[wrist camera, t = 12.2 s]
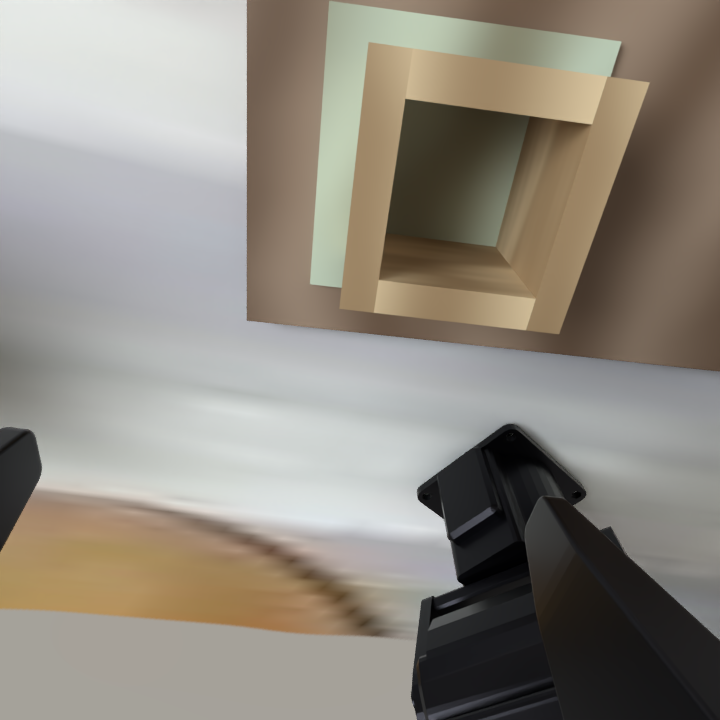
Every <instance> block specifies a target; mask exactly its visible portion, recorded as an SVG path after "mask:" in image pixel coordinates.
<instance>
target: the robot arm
mask: <svg viewBox="0 0 720 720" xmlns="http://www.w3.org/2000/svg"><path fill="white" fill-rule="evenodd" d="M509 433H513V435H511V436H507V434H509ZM41 471H42V464H41V459H40V455H39V450H38V446H37V441H36V437H35V434H34V433H33V432H32V431H30V430H28V429H20V428H12V427H6V428H2V429H0V552H1V550H2V548H3V546H4V544H5V543H6V541H7V539H8V537H9V535H10V533H11V531H12V529H13V528H14V526H15V524H16V522H17V520H18V518H19V516H20V515H21V513H22V511H23V509H24V507H25V505H26V503H27V501H28V500H29V498H30V496H31V494H32V492H33V490H34V488H35V486H36V485H37V483H38V481H39V479H40V476H41ZM574 492H575V493H574ZM425 493H429V494H428V495H425ZM417 496H418V500H419V501H420V502H421V503H423V504H424V505H425V506H427V507H428V508H429V509H431V510H432V511H434V512H435V513H436V514H438V515H439V516H440V517H442V518H443V519H444V521H445V526H446V532H447V537H448V539H449V540H450V542H451V548H452V553H453V558H454V564H455V569H456V575H457V580H458V581H459V582H460V583H461V584H463V587H461V588H458V589H455V590H453V591H450V592H448V593H445V594H443V595H440V596H437V597H434V596H431V597H429V598H426V599H424V600H422V602H421V610H420V618H419V627H418V635H417V643H416V651H415V660H414V668H413V680H412V692H411V699H412V703H413V706H414V708H415V711H416V716H417V720H720V640H719V639H718V638H717V637H715V636H714V635H713V634H712V633H711V632H710V631H709V630H708V629H707V628H706V627H705V626H703V625H702V624H701V623H700V622H699V621H698V620H697V619H696V618H695V617H694V616H693V615H691V614H690V613H689V612H688V611H687V610H686V609H685V608H684V607H683V606H682V605H680V604H679V603H678V602H677V601H676V600H675V599H674V598H673V597H672V596H671V595H670V594H668V593H667V592H666V591H665V590H664V589H663V588H662V587H661V586H660V585H659V584H658V583H656V582H655V581H654V580H653V579H652V578H651V577H650V576H649V575H648V574H647V573H646V572H644V571H643V570H642V569H641V568H640V567H639V566H638V565H637V564H636V563H635V562H634V561H632V560H631V559H630V558H629V557H628V555H627V553H626V552H625V550H624V548H623V547H622V545H621V543H620V541H619V540H618V538H617V536H616V535H615V533H614V531H613V530H612V528H611V526H610V527H607V528H605V529H602V530H599V529H598V528H596V527H595V526H594V525H593V524H592V523H591V522H590V521H589V520H588V519H587V518H586V517H584V516H583V515H582V514H581V513H580V512H579V511H578V510H577V509H576V508H575V507H574V506H573V505H574V504H576V503H578V502H579V501H581V500H582V499H584V498H585V496H586V491H585V489H584V488H583V486H582V484H581V483H579V482H578V481H577V480H576V479H575V478H574V477H573V476H572V475H571V474H569V473H568V472H567V471H566V470H565V469H564V468H563V467H562V466H561V465H559V464H558V463H557V462H556V461H555V460H554V459H553V458H552V457H551V456H549V455H548V454H547V453H546V452H545V451H544V450H543V449H542V448H541V447H539V446H538V445H537V444H536V443H535V442H534V441H533V440H532V439H531V438H530V437H528V436H527V435H526V434H525V433H524V432H523V431H522V430H521V429H520V428H518V427H517V426H516V425H514V424H507V425H504V426H502V427H501V428H500V429H498V430H497V431H495V432H494V433H493V434H491V435H490V436H489V437H487V438H486V439H484V440H483V441H482V442H480V443H479V444H478V445H476V446H475V447H473V448H472V449H471V450H469V451H468V452H466V453H465V454H464V455H462V456H461V457H459V458H458V459H457V460H455V461H454V462H453V463H451V464H450V465H448V466H447V467H446V468H444V469H443V470H442V471H440V472H439V473H438V474H436V475H435V476H433V477H432V478H431V479H429V480H428V481H426V482H425V483H424V484H422V485H421V486H420V487H419V488H418V489H417Z"/></svg>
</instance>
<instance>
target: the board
mask: <svg viewBox="0 0 720 720" xmlns="http://www.w3.org/2000/svg"><path fill="white" fill-rule="evenodd" d="M369 42H372V43H379V44H386V45H393V46H400V47H406V48H413V49H420V50H427V51H434V52H441V53H448V54H455V55H462V56H469V57H476V58H483V59H490V60H497V61H504V62H511V63H518V64H525V65H531V66H538V67H545V68H552V69H559V70H566V71H573V72H580V73H587V74H594V75H601V76H608V77H615V78H622V79H629V80H636V81H643V82H650V83H649V86H648V89H647V92H646V94H645V97H644V100H643V103H642V106H641V108H640V111H639V114H638V117H637V119H636V122H635V125H634V128H633V130H632V133H631V136H630V139H629V142H628V144H627V147H626V150H625V153H624V155H623V158H622V161H621V164H620V166H619V169H618V172H617V175H616V178H615V180H614V183H613V186H612V189H611V191H610V194H609V197H608V200H607V202H606V205H605V208H604V211H603V214H602V216H601V219H600V222H599V225H598V227H597V230H596V233H595V236H594V238H593V241H592V244H591V247H590V250H589V252H588V255H587V258H586V261H585V263H584V266H583V269H582V272H581V274H580V277H579V280H578V283H577V286H576V288H575V291H574V294H573V297H572V299H571V302H570V305H569V308H568V310H567V313H566V316H565V319H564V322H563V324H562V327H561V330H560V333H559V334H553V333H544V332H535V331H527V330H518V329H510V328H501V327H492V326H484V325H475V324H467V323H458V322H449V321H441V320H432V319H423V318H415V317H406V316H398V315H389V314H380V313H372V312H363V311H354V310H346V309H339V308H340V298H341V289H342V280H343V271H344V262H345V253H346V244H347V234H348V225H349V216H350V207H351V198H352V189H353V180H354V171H355V161H356V152H357V143H358V134H359V125H360V116H361V107H362V97H363V88H364V79H365V70H366V61H367V52H368V43H369ZM529 118H530V116H527V115H519V114H512V113H505V112H498V111H490V110H483V109H476V108H469V107H462V106H454V105H447V104H440V103H433V102H426V101H418V100H411V99H405V105H404V112H403V119H402V126H401V132H400V139H399V146H398V153H397V159H396V166H395V173H394V180H393V186H392V193H391V200H390V207H389V213H388V220H387V227H386V233H388V234H396V235H404V236H413V237H421V238H429V239H437V240H445V241H453V242H461V243H469V244H477V245H485V246H493V247H496V243H497V239H498V236H499V232H500V228H501V224H502V220H503V217H504V213H505V209H506V205H507V201H508V198H509V194H510V190H511V186H512V182H513V179H514V175H515V171H516V167H517V163H518V160H519V156H520V152H521V148H522V144H523V141H524V137H525V133H526V129H527V125H528V122H529ZM247 321H257V322H266V323H275V324H284V325H294V326H303V327H312V328H322V329H331V330H340V331H349V332H359V333H368V334H377V335H386V336H396V337H405V338H414V339H424V340H433V341H442V342H451V343H461V344H470V345H479V346H489V347H498V348H507V349H516V350H526V351H535V352H544V353H554V354H563V355H572V356H581V357H591V358H600V359H609V360H619V361H628V362H637V363H646V364H656V365H665V366H674V367H684V368H693V369H702V370H711V371H720V0H247Z"/></svg>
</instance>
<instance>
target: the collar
mask: <svg viewBox="0 0 720 720" xmlns="http://www.w3.org/2000/svg"><path fill="white" fill-rule="evenodd" d="M649 83H650V82H643V81H636V80H629V79H622V78H615V77H608V76H601V75H594V74H587V73H580V72H573V71H566V70H559V69H552V68H545V67H538V66H531V65H525V64H518V63H511V62H504V61H497V60H490V59H483V58H476V57H469V56H462V55H455V54H448V53H441V52H434V51H427V50H420V49H413V48H406V47H400V46H393V45H386V44H379V43H372V42H369V43H368V52H367V61H366V70H365V79H364V88H363V97H362V107H361V116H360V125H359V134H358V143H357V152H356V161H355V171H354V180H353V189H352V198H351V207H350V216H349V225H348V234H347V244H346V253H345V262H344V271H343V280H342V289H341V298H340V308H339V309H346V310H354V311H363V312H372V313H380V314H389V315H398V316H406V317H415V318H423V319H432V320H441V321H449V322H458V323H467V324H475V325H484V326H492V327H501V328H510V329H518V330H527V331H535V332H544V333H553V334H559V333H560V330H561V327H562V324H563V322H564V319H565V316H566V313H567V310H568V308H569V305H570V302H571V299H572V297H573V294H574V291H575V288H576V286H577V283H578V280H579V277H580V274H581V272H582V269H583V266H584V263H585V261H586V258H587V255H588V252H589V250H590V247H591V244H592V241H593V238H594V236H595V233H596V230H597V227H598V225H599V222H600V219H601V216H602V214H603V211H604V208H605V205H606V202H607V200H608V197H609V194H610V191H611V189H612V186H613V183H614V180H615V178H616V175H617V172H618V169H619V166H620V164H621V161H622V158H623V155H624V153H625V150H626V147H627V144H628V142H629V139H630V136H631V133H632V130H633V128H634V125H635V122H636V119H637V117H638V114H639V111H640V108H641V106H642V103H643V100H644V97H645V94H646V92H647V89H648V86H649ZM405 99H411V100H418V101H426V102H433V103H440V104H447V105H454V106H462V107H469V108H476V109H483V110H490V111H498V112H505V113H512V114H519V115H527V116H530V118H529V122H528V125H527V129H526V133H525V137H524V141H523V144H522V148H521V152H520V156H519V160H518V163H517V167H516V171H515V175H514V179H513V182H512V186H511V190H510V194H509V198H508V201H507V205H506V209H505V213H504V217H503V220H502V224H501V228H500V232H499V236H498V239H497V243H496V247H493V246H485V245H477V244H469V243H461V242H453V241H445V240H437V239H429V238H421V237H413V236H404V235H396V234H388V233H386V227H387V220H388V213H389V207H390V200H391V193H392V186H393V180H394V173H395V166H396V159H397V153H398V146H399V139H400V132H401V126H402V119H403V112H404V105H405Z"/></svg>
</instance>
